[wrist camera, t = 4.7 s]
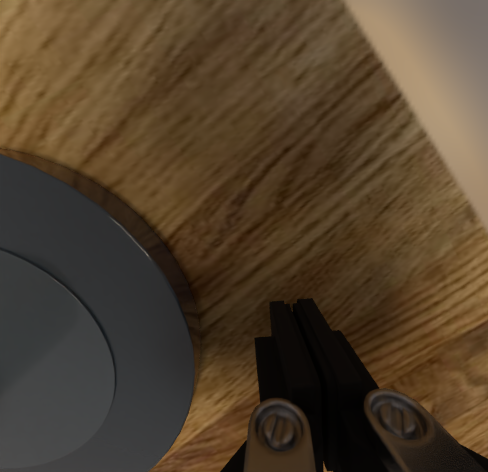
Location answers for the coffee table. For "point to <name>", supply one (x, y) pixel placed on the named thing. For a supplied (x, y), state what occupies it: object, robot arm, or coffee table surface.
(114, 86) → the coffee table surface
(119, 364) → the plate
